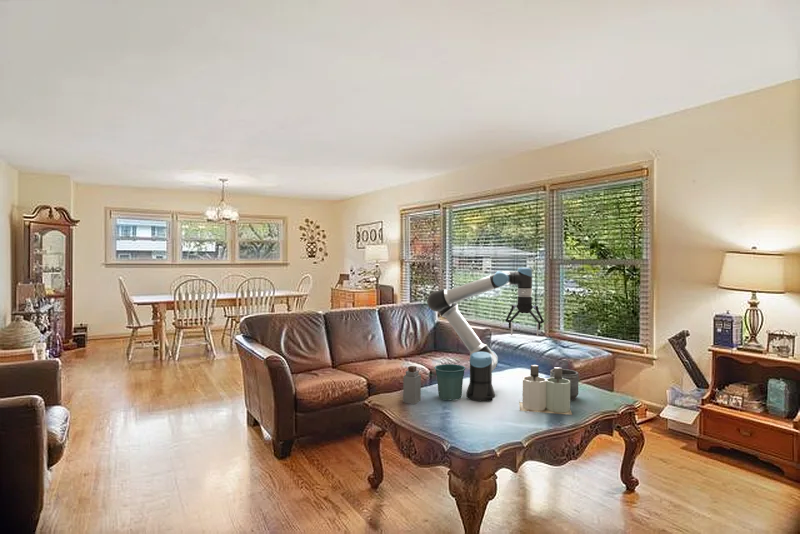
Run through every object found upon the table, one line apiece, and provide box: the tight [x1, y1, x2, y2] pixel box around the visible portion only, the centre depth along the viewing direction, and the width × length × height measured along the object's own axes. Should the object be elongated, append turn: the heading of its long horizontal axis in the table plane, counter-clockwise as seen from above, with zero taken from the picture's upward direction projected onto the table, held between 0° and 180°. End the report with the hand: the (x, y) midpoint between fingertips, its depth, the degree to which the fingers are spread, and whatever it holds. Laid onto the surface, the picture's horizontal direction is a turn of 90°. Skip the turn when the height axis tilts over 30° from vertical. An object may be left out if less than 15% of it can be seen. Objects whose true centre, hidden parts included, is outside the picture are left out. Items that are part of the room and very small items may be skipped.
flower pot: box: [434, 363, 466, 401], centre depth 251 cm, size 16×16×16 cm
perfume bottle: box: [402, 365, 422, 405], centre depth 244 cm, size 7×7×18 cm
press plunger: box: [529, 364, 540, 382], centre depth 232 cm, size 8×8×15 cm
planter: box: [549, 368, 580, 402], centre depth 248 cm, size 14×14×15 cm
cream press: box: [522, 375, 546, 411], centre depth 233 cm, size 11×14×14 cm
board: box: [518, 401, 573, 416], centre depth 231 cm, size 24×14×1 cm, turn 76°
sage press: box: [545, 366, 571, 413], centre depth 231 cm, size 11×14×20 cm
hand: (524, 335), depth 256 cm, fingers open, 13 cm apart
